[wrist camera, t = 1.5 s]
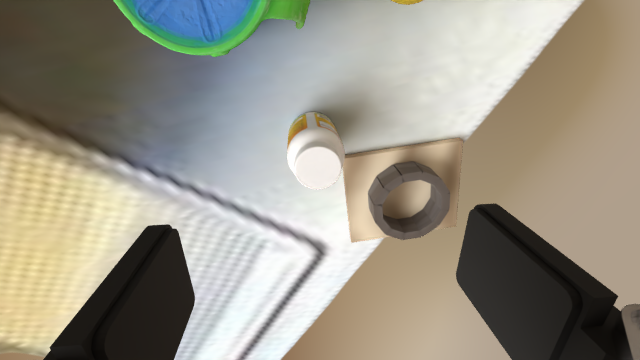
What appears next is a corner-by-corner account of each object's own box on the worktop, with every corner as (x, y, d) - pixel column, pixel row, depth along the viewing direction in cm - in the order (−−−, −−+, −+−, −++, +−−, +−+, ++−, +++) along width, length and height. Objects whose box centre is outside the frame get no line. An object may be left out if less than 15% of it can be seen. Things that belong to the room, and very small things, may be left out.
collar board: (458, 137, 35) (477, 149, 31) (452, 222, 40) (467, 240, 36) (341, 155, 35) (346, 169, 31) (350, 238, 40) (355, 257, 36)
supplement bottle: (291, 159, 35) (290, 200, 26) (285, 114, 32) (281, 142, 23) (337, 154, 35) (351, 193, 26) (334, 108, 32) (348, 134, 24)
